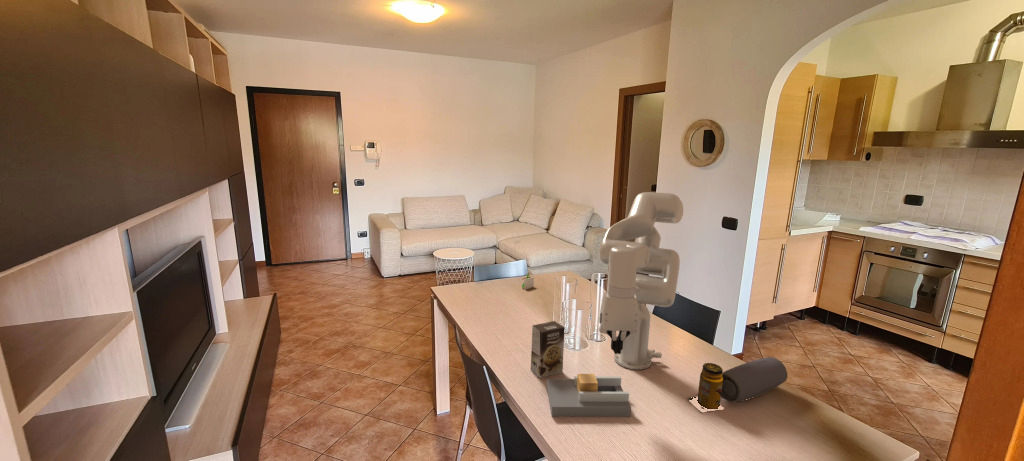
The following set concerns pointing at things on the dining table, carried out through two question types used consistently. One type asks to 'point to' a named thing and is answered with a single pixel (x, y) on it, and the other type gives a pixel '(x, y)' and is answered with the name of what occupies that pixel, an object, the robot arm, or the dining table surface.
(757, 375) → the bluetooth speaker
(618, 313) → the robot arm
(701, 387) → the condiment
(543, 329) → the cookie box
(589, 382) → the block
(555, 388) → the trap channel
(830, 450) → the dining table surface
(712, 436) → the dining table surface
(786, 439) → the dining table surface
